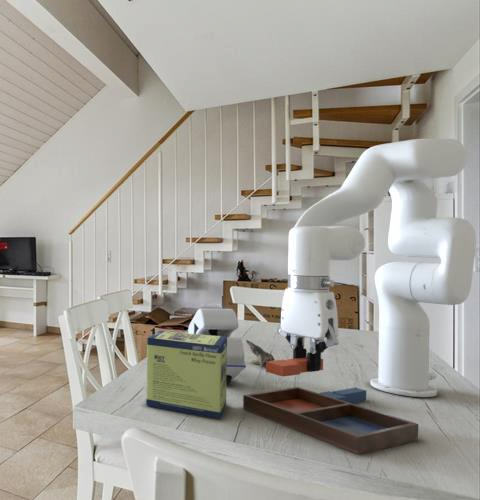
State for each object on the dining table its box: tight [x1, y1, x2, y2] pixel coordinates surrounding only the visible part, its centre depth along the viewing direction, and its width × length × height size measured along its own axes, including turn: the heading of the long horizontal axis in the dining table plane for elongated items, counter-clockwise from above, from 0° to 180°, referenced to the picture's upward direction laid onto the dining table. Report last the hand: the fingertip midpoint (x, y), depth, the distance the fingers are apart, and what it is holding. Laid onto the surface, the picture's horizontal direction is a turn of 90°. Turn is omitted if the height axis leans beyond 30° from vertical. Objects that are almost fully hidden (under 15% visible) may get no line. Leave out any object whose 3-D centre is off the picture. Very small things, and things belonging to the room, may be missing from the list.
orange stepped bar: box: [265, 357, 324, 377], centre depth 102 cm, size 13×4×2 cm, turn 111°
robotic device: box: [187, 307, 247, 386], centre depth 129 cm, size 10×21×20 cm
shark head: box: [245, 339, 275, 368], centre depth 142 cm, size 8×6×7 cm
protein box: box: [145, 330, 227, 420], centre depth 107 cm, size 10×16×16 cm
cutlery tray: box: [242, 386, 419, 456], centre depth 97 cm, size 17×24×3 cm
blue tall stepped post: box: [318, 387, 367, 404], centre depth 109 cm, size 13×4×2 cm, turn 111°
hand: (306, 368), depth 103 cm, fingers closed on orange stepped bar, 2 cm apart
